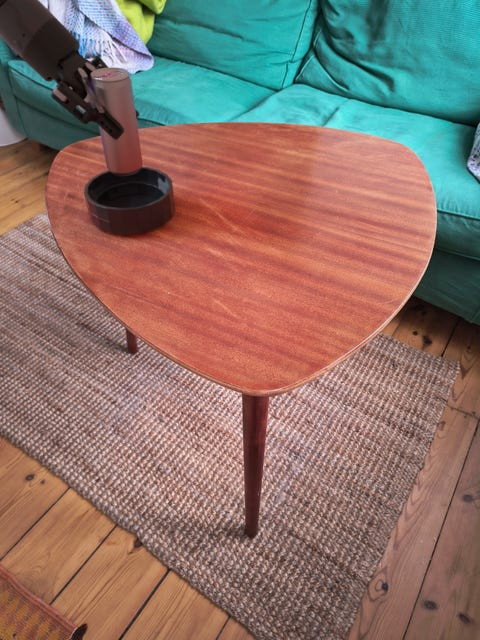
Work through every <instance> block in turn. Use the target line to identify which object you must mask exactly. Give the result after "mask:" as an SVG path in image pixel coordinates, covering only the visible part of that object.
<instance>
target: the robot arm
mask: <svg viewBox="0 0 480 640" xmlns="http://www.w3.org/2000/svg"><path fill="white" fill-rule="evenodd" d="M0 37H1V39H2V40H3V41H4V42H5V43H6V44H7V45H8V46H9V48H11V50H13V51H14V52H15V53H16V54H17V55H18V56H19V57H20V58H21V59H22V60H23V61H24V62H25V63H26V64H27V65H29V66H30V68H32V70H34V72H35V73H37V74H38V75H39V76H40V77H41V78H42V79H43V80H44V81H45V82H48V83H49V82H55V83H56V86H55V87H54V88H53V90H52V91H51V93H50V98H52V100H54V101H55V102H56V103H57V104H59V105H60V106H61V107H62V108H64V109H65V110H66V111H68V113H69V114H71V115H72V116H73V117H74V118H76V119H77V120H78V121H80V123H82V124H83V125H88V124H89V123H93V124H96V125H98V127H99V126H100V127H101V128H102V129H103V130H104V131H106V132H107V133H108V134H109V135H110V136H111V137H112V138H113V139H115V140H117V139H118V138H119V137H120V136H121V135H122V134H123V133H124V128H123V127H122V126H121V125H120V124H119V123H118V122H117V121H116V120H115V119H114V118H113V117H112V116H111V115H110V114H108V113H107V112H105V113H104V109H103V107H102V106H101V104H100V103H99V101H98V100H97V96H96V94H95V92H94V90H93V88H92V86H91V76H90V74H91V73H92V72H93V71H95V70H97V69H101V68H110V67H109V66H108V65H107V64H106V62H105V61H104V59H103V58H101V57H100V56H99V55H95V56H94V57H93V58H92V60H89V59H88V58H86V57H84V56H83V55H82V54H80V53H81V52H80V48H81V43H80V42H79V40H78V39H77V38H76V37H75V35H74V34H72V33H71V31H69V29H68V28H67V27H66V26H65V25H63V24H62V23H61V21H60V20H59V19H58V18H57V17H56V16H55V15H54V14H53V13H52V12H51V11H50V10H49V9H48V8H47V7H46V6H45V5H44V4H43V3H42V2H41V1H40V0H0ZM77 107H78V108H77ZM82 111H83V112H82ZM135 111H136V118H137V119H138V118H139V116H140V112H139V111H138V110H137V109H136V108H135Z"/></svg>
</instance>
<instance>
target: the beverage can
mask: <svg viewBox="0 0 480 640" xmlns="http://www.w3.org/2000/svg"><path fill="white" fill-rule="evenodd" d="M90 76H91V86H92V88H93V90H94V92H95V94H96V96H97V100H98V101H99V103H100V104H101V106H102V107H103V109H104V113H105V112H107V113H108V114H110V115H111V116H112V117H113V118H114V119H115V120H116V121H117V122H118V123H119V124H120V125H121V126H122V127H123V128H124V133H123V134H122V135H121V136H120V137H119V138H118V139H117V140H115V139H113V138H112V137H111V136H110V135H109V134H108V133H107V132H106V131H104V130H103V129H102V128H101V127H100V126H99V125H98V130H99V134H100V139H101V144H102V149H103V154H104V160H105V165H106V169H107V171H108V170H109V171H110V172H111V173H112V174H114V175H118V176H129V175H133V174H136V173H137V172H139V171H140V170H141V168H142V167H143V165H144V163H143V155H142V148H141V142H140V134H139V125H138V117H137V118H136V111H135V109H136V105H135V96H134V90H133V82H132V79H131V76H130V72H129V71H128V70H127V69H125V68H123V67H112V66H111V67H109V68H101V69H97V70H95V71H93V72H92V73H91V74H90Z"/></svg>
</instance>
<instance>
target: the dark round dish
mask: <svg viewBox="0 0 480 640" xmlns="http://www.w3.org/2000/svg"><path fill="white" fill-rule="evenodd" d="M83 196H84V200H85V203H86V207H87V212H88V216H89V219H90V221H91V222H92V225H93V226H95V228H97V229H98V230H100V231H102V232H104V233H108V234H111V235H118V236H135V235H137V236H138V235H143V234H147V233H151V232H154V231H156V230H158V229H160V228H162V227H164V226H166V225H167V224H168V223H169V222H170V221H172V219H173V217H174V215H175V213H176V203H175V196H174V185H173V180H172V179H171V177H170V176H169V175H168V174H167V173H166V172H164V171H162V170H160V169H157V168H154V167H149V166H142V168H141V170H140V171H139V172H137V173H136V174H133V175H129V176H118V175H114V174H112V173H111V172H110V171H109V170H108V169H107V170H106V171H103V172H100V173H98V174H96V175H95V176H93V177H92V178H90V179H88V182H87V183H86V184H85V186H84V190H83Z"/></svg>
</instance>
